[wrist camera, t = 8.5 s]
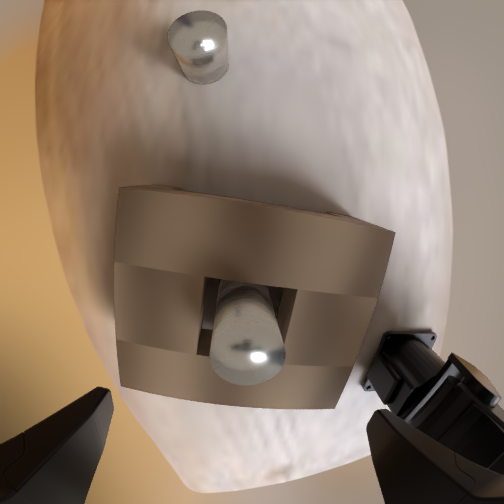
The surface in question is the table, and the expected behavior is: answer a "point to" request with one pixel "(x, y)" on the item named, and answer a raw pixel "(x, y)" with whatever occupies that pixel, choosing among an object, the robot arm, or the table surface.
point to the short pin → (200, 46)
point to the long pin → (245, 334)
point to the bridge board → (249, 271)
